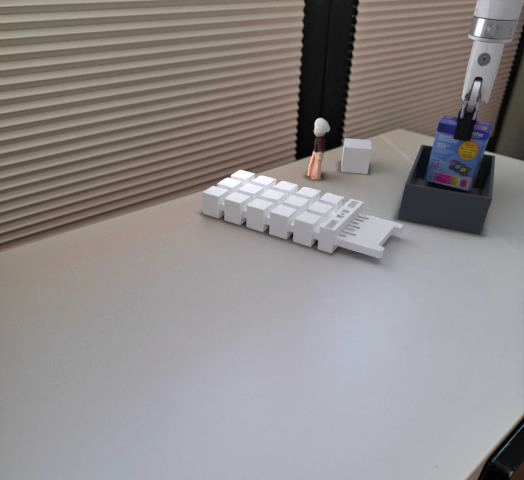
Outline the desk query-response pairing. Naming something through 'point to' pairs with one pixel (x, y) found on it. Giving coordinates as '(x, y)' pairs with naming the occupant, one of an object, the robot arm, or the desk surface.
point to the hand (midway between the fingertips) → (462, 134)
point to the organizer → (298, 214)
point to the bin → (447, 198)
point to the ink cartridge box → (457, 154)
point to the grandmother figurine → (318, 148)
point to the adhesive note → (356, 156)
